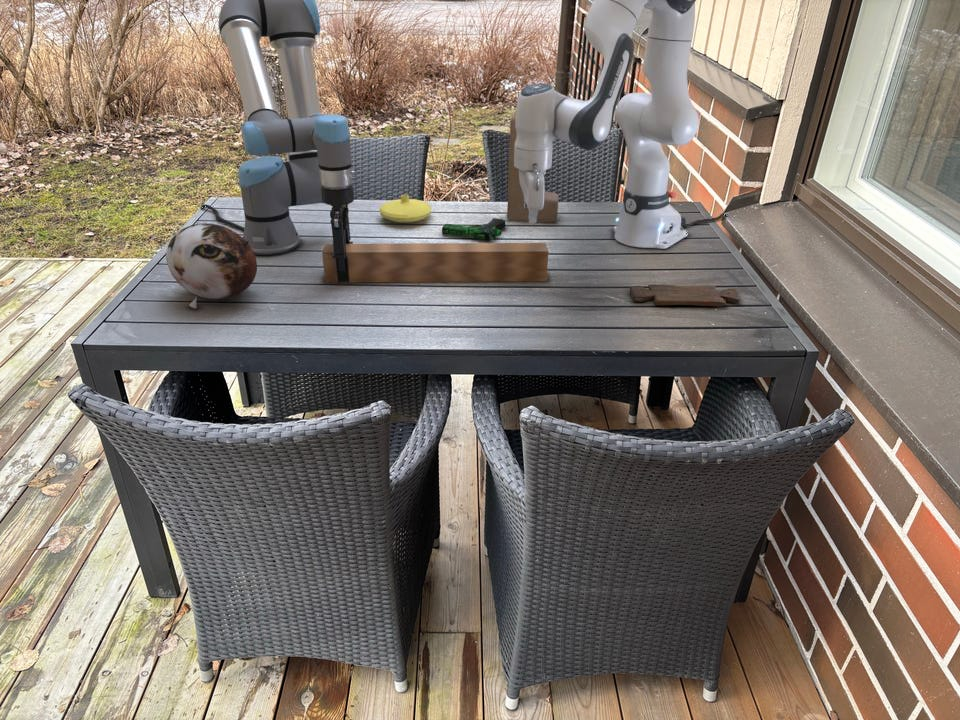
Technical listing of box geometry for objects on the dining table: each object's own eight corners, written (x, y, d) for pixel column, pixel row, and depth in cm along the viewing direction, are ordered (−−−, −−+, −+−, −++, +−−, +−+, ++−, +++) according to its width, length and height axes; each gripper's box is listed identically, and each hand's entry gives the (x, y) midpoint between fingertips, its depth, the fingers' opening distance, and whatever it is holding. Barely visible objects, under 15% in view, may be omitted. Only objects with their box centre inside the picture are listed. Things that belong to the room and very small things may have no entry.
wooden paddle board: (744, 309, 167) (732, 291, 176) (746, 303, 166) (734, 285, 175) (634, 305, 167) (627, 287, 176) (635, 299, 167) (628, 281, 175)
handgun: (511, 219, 210) (493, 234, 198) (511, 228, 211) (492, 244, 199) (461, 212, 215) (440, 226, 203) (461, 221, 217) (440, 236, 204)
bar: (325, 282, 177) (322, 252, 172) (328, 273, 181) (325, 243, 177) (546, 281, 179) (548, 251, 175) (543, 272, 184) (545, 242, 180)
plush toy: (130, 285, 161) (164, 203, 163) (192, 308, 177) (221, 233, 178) (195, 307, 151) (229, 220, 152) (254, 330, 166) (285, 250, 168)
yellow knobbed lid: (403, 206, 226) (402, 184, 222) (442, 217, 218) (442, 194, 215) (368, 220, 215) (367, 197, 211) (408, 231, 207) (407, 208, 203)
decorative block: (556, 223, 215) (563, 120, 199) (506, 220, 216) (510, 118, 201) (557, 215, 221) (564, 114, 206) (509, 212, 223) (512, 112, 207)
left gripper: (348, 197, 159) (356, 292, 171) (357, 173, 175) (363, 261, 187) (314, 197, 159) (325, 292, 171) (326, 173, 175) (334, 261, 187)
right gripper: (552, 171, 157) (548, 231, 164) (541, 147, 175) (538, 202, 182) (524, 171, 157) (521, 231, 164) (515, 147, 175) (513, 202, 182)
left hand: (345, 275), depth 179 cm, fingers closed on bar, 6 cm apart
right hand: (530, 216), depth 173 cm, fingers open, 8 cm apart
